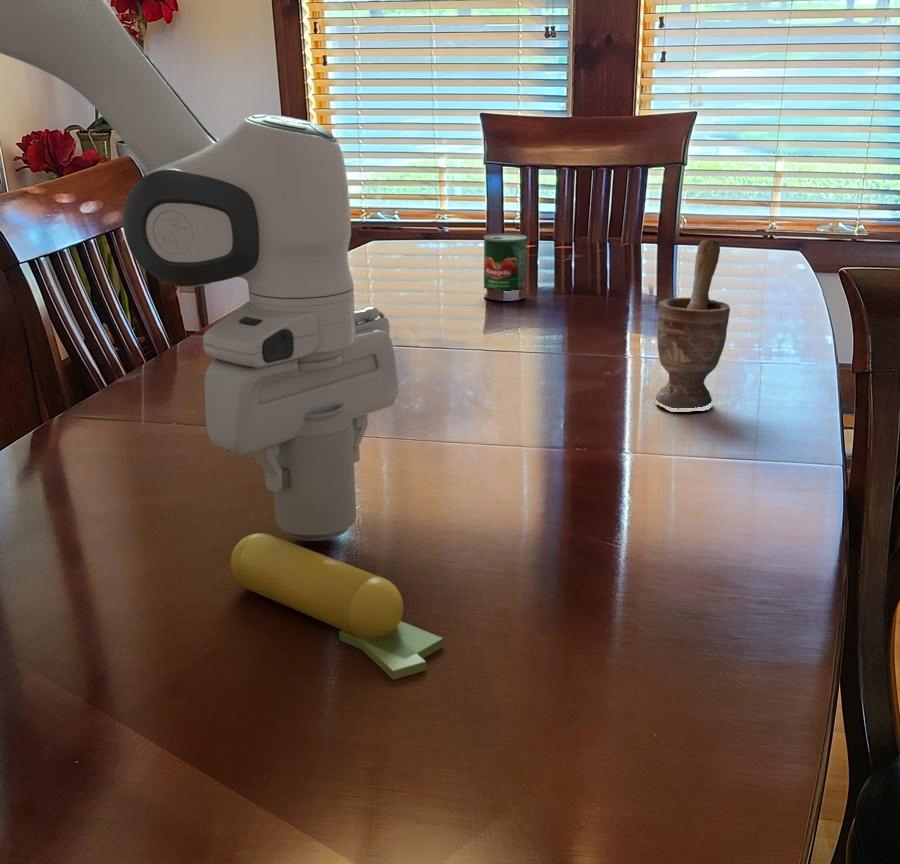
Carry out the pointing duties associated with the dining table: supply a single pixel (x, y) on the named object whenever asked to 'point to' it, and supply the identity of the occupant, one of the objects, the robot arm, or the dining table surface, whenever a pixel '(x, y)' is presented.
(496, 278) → the canned tomato
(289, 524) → the can
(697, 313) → the mortar and pestle
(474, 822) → the dining table surface
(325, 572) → the corn cob
